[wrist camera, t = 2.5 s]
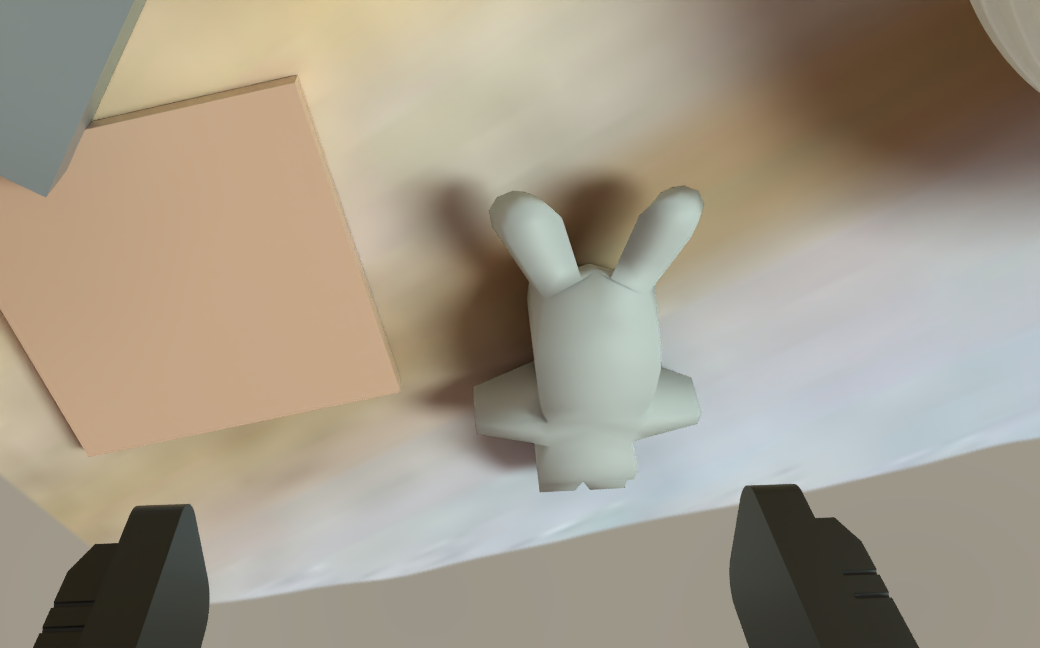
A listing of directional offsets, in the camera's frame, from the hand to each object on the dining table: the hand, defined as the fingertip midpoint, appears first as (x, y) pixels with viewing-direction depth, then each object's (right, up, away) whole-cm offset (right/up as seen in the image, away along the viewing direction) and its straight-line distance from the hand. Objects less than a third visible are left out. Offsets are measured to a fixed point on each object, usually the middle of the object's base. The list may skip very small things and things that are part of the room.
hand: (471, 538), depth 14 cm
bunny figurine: (+3, +3, +27) cm, 28 cm away
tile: (-13, +5, +25) cm, 28 cm away
